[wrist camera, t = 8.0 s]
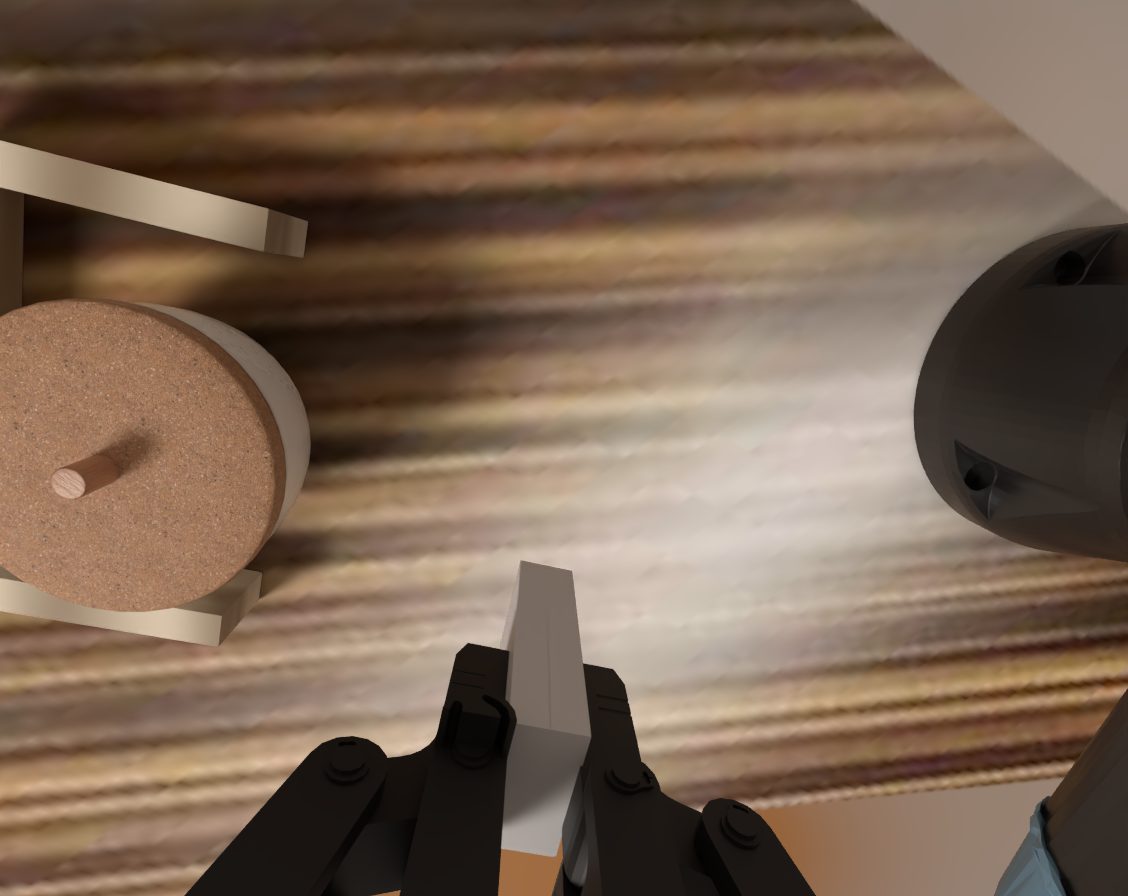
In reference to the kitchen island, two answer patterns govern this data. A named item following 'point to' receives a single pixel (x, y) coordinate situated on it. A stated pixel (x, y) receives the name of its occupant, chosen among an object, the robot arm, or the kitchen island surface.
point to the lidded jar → (140, 451)
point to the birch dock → (3, 182)
